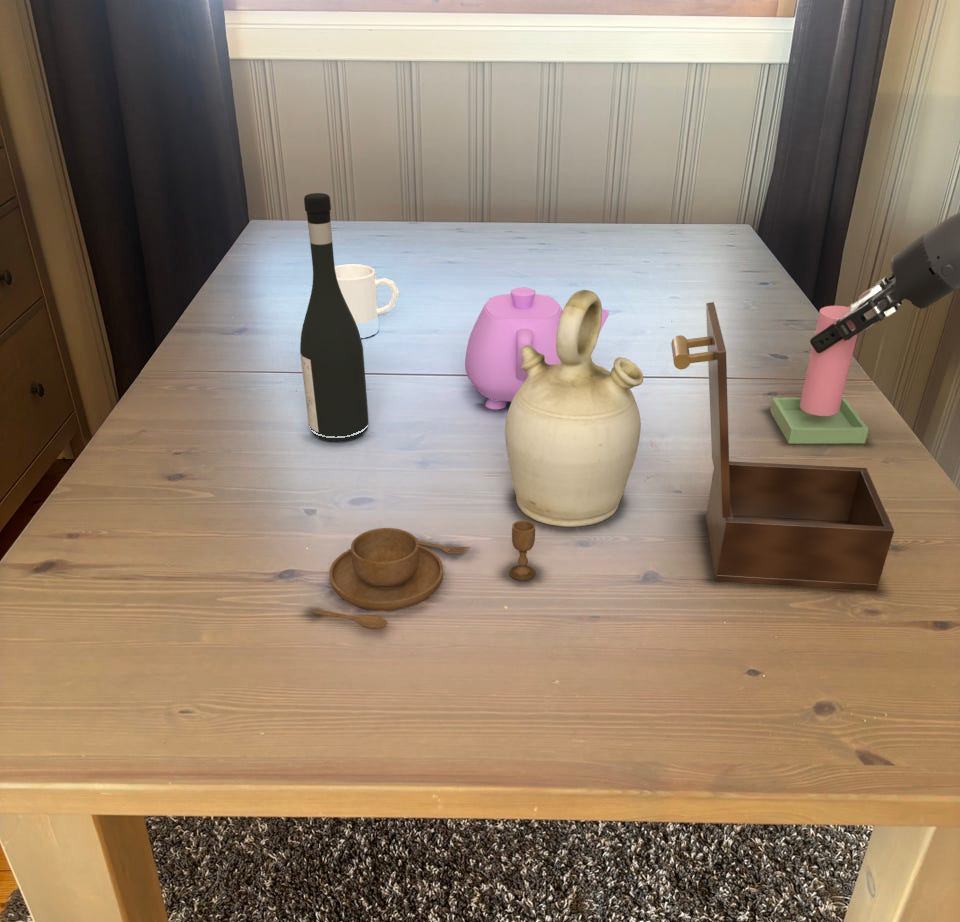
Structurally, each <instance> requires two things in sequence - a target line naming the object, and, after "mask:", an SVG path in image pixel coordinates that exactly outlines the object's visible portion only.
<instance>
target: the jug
mask: <svg viewBox="0 0 960 922" xmlns="http://www.w3.org/2000/svg"><path fill="white" fill-rule="evenodd" d="M602 309H603V305H602V301H601V299H600V297H599V296H598V295H597V294H596V293H595V292H594V291H592V290H589V289H581V290H577V291H576V292H574V293H573V294H572V295H570V297H569V298H568V300H567V301H566V304H565V305H564V307H563V308H562V310H563V311H562V314H561V317H560V321H559V325H558V329H557V337H556V350H557V355H558V358H559V359H560V361H561V363H560V364H552V365H549V364H547V363H546V362H545V356H544V355H543V354H541V353H538V352H537V351H536V350H535V349H534V348H533V347H532V346H530V345H525V346H524V347H523V348H522V350H521V354H522V359H523V364H522V366H521V368H522V370H524V371H526V372H527V379H526V380H525V382H524V383H523V384H522V385H521V387H520V388H519V390H518V391H517V393H516V395H515V396H514V398H513V400H512V402H511V401H510V405H509V408H508V410H507V414H506V419H505V425H504V440H505V447H506V454H507V459H508V460H507V461H508V466H509V472H510V476H511V478H510V479H511V484H512V488H513V491H514V495H515V498H516V499H515V500H516V504H517V506H518V508H519V510H520V511H521V512H522V513H523V514H524V515H525V516H526V517H527V518H530V519H531V520H534V521H536V522H538V523H542V524H545V525H549V526H550V525H551V526H556V527H561V528H562V527H564V528H575V527H578V528H579V527H585V526H591V525H596V524H599V523H602V522H604V521H605V520H607V519H609V518H611V517H612V516H613V515H614V514H615V513H616V511H617V510H618V508H619V505H620V502H621V500H622V498H623V495H624V492H625V489H626V486H627V484H628V483H627V482H628V480H629V477H630V474H631V473H632V470H633V467H634V463H635V461H636V456H637V452H638V448H639V444H640V438H641V426H642V421H641V414H640V410H639V407H638V403H637V401H636V399H635V395H634V394H633V392H632V390H631V389H633V388H634V387H638V386H641V385H642V384H643V383H644V374H643V372H642V370H641V369H640V368H639V366H637V364H636V363H634V362H633V361H632V360H631V359H629V358H627V357H621V356H620V357H616V358H615V359H614V360H613V367H612V368H611V370H608V369H607V368H604V367H603V366H600V365H598V364H596V363H595V362H594V361H593V359H592V354H593V352H594V350H595V348H596V345H597V343H598V340H599V336H600V334H601V333H600V332H601V331H600V328H601V322H602Z"/></svg>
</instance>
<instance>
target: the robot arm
mask: <svg viewBox="0 0 960 922" xmlns="http://www.w3.org/2000/svg"><path fill="white" fill-rule="evenodd" d="M890 270H891V272H892V274H891V275H890V276H889V277H887V276H886V275H885V277H883V278H881V279H879V280H878V281H877V282H876V283H875V284H874V285H873V286H872V287H870V288H869V289H867V290H865V291H864V292H863V293H862V294H860V295H859V296H858V297H857V298H856V300H855V302H852V303H850V304H849V306H848V307H850V311H849V312H848V313H847V314H845V315H844V316H843V317H841V318H840V319H839V318H838V319H837V320H835V321H836V322H834V323H833V324H832V325H830V326H829V327H827V328H826V329H824V330H823V331H821V332H820V333H818V334H817V335H815V334H814V335H815V336H812V337H811V338H810V340H809V344H810V345H811V347H812V346H813V348H814V349H815V351H816V352H817V353H821V352H823V351H825V350H826V349H828V348H829V347H831V346H832V345H834V344H835V343H837V342H839V341H840V340H842V339H844V341H846V340H849V339H851V338H852V337H853V336H854V335H856V334H858V335H859V333H861V332H863V331H864V330H868V329H869V328H870V327H871V328H872V326H874V325H875V324H877V323H878V322H881V321H883V320H884V318H887V317H890V316H892V315H894V313H896V312H897V311H899V310H900V308H899V307H901V306H902V305H903V304H904V300H907V301H910V303H911V304H912V305H913V306H914V307H916V308H918V309H926V308H929V307H930V306H931V305H933V304H935V303H936V302H938V301H940V300H942V299H943V298H944V297H946V296H948V295H949V294H951V293H953V292H954V291H956V290H957V289H960V211H959V212H957V213H956V214H954V215H951V216H950V217H948V218H946V219H944V220H943V221H941V222H940V223H938V224H936V225H935V226H934V227H932V228H931V229H929V230H928V231H927V232H925V233H924V234H922V235H921V236H919V237H917V238H916V239H915V240H913V241H912V242H911V243H909V244H908V245H906V246H904V247H903V248H901V249H900V250H899V251H897V252H896V253H895V254H893V255H892V257H891V260H890ZM848 320H851V321H852V322H853V323H854V325H855V327H854V328H852V329H851V330H850V328H849V327H848V325H847V324H846V322H847V321H848Z"/></svg>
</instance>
